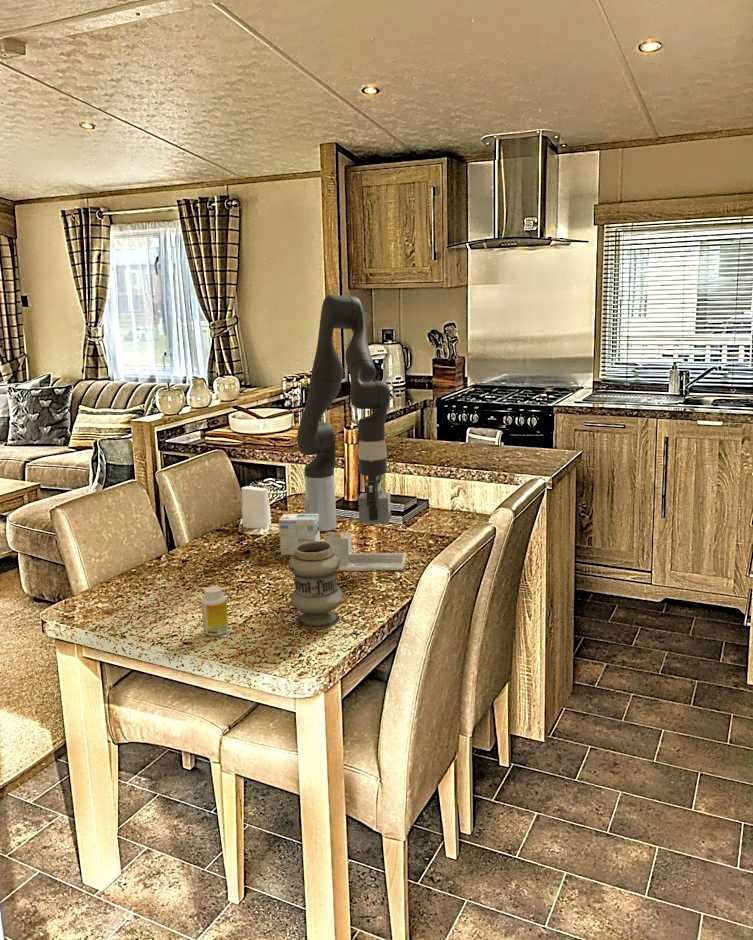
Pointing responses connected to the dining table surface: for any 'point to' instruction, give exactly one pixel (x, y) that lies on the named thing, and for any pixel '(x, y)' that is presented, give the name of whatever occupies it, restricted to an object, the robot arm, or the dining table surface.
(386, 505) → the module
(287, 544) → the light bulb box
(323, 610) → the apothecary jar
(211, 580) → the dining table surface
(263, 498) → the upright white block
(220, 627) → the supplement bottle
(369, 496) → the robot arm
